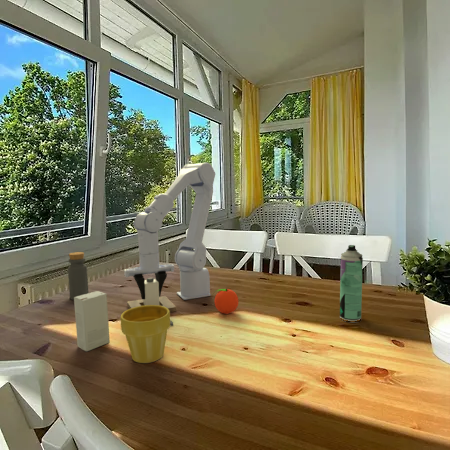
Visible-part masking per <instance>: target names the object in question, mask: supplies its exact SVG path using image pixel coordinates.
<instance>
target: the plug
mask: <svg viewBox="0 0 450 450" xmlns="http://www.w3.org/2000/svg"><path fill="white" fill-rule="evenodd" d="M144 290H145V299H143V304H144V305H159V282H158V281H157V280H156V278H154V277H148V278H146V279H145V282H144Z"/></svg>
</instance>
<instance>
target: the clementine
mask: <svg viewBox="0 0 450 450" xmlns="http://www.w3.org/2000/svg"><path fill="white" fill-rule="evenodd" d="M215 292H217V293H216V295H215V296H214V306H215V308H216V309H217V311H218V312H219V313H221V314H225V315H227V314H232V313H233V312H235V311H236V310H237V308H238V306H239V301H240V300H239V297H238V295H237V293H236V292H235V291H234V290H232V289H230V288H220V289H216V291H214V293H215Z"/></svg>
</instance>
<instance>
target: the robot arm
mask: <svg viewBox="0 0 450 450" xmlns="http://www.w3.org/2000/svg"><path fill="white" fill-rule="evenodd" d="M178 173H179V174H178V175H177V177H176V178H175V179H174V180H173V182H172V183H171V185H170V186H169V187H168V188H167V189H166V191H165V192H164V193H159V194H155V196H154V197H153V199H154V200H153V201H152V202H151V203H150V204H149V205H148V206H146V207H145V208H144V211H142V212H140V213H138V214H137V215H136V216H135V219H134V221H133V227H134V229H135V230H136V231H137V232H136V233H137V238H138V258H139V259H138V260H139V266H138V267H131V268H127V269H126V268H125V269H124V270H123V272H124V277H125V278H129V277H133V279H134V280H135V283H136V284H137V287H138V289H139V292H140V293H139V294H140V297H141V299H145V290H144V282H145V280H146V279H145V278H144V275H151V274H154V276H155V279H156V280H157V281H158V282H159V297H161V294H162V289H163V286H164V284H165V281H166V279H167V277H168V274H167V272H171V273H172V272H175V265H174V264H173V263H170V264H169V263H167V264H166V263H165V264H160V249H159V230H161V229H162V226H163V221H164V218H166V216H167V215H168V214H169V213H170V211H171V210H172V209H173V208H174V206H175V203H174V201H175V200H176V199H177V198H178V196H179V195H180V194H182V193H183V191H184V190H186V188H187V187H188V186H189V187H190V188H191V189H192V190H193V191H194V193H195V197H194V202H193V206H192V210H191V215H190V219H189V224H188V228H187V233H186V237H185V239H184V240H183V241H181V242H180V243H179V246H178V249H177V250H176V252H175V254H174V263H175V264H176V265H177V266H178V270H179V281H180V283H179V285H180V286H179V287H180V291H176V295H178V296H179V298H181V299H182V300H184V301H187V300H192V299H199V298H205V297H210V296H212V294H211V286H210V285H211V284H210V283H211V282H210V281H211V280H210V279H211V277H210V272H209V270H208V268H206V267H205V265H206V262H207V251H208V249H207V247H206V246H205V244H204V243H203V239H204V234H205V230H206V225H207V221H208V217H209V212H210V208H211V203H212V198H213V195H214V194H213V193H214V182H215V177H216V172H215V170H214V168H213V166H212V164H211V163H209V162H201V163H186V164H184V166H183V167H182V168H181V169H180V170H179V172H178Z"/></svg>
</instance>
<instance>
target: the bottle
mask: <svg viewBox="0 0 450 450" xmlns="http://www.w3.org/2000/svg"><path fill="white" fill-rule="evenodd" d="M68 257H69V258H68V263H70V265H69V266H68V267H67V274H68V275H67V276H68V289H69V292H68V293H69V299H70V300H71V301H74V297H77V296H81V295H84V294H88V293H89V279H88V278H89V277H88V276H89V275H88V266H87V264H85V262H86V257H85V252H83V251H77V252H76V251H75V252H69V254H68Z"/></svg>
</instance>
